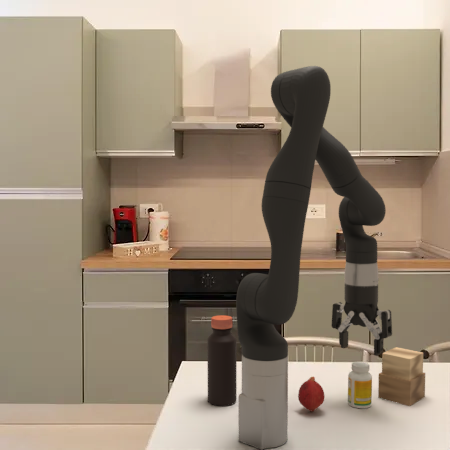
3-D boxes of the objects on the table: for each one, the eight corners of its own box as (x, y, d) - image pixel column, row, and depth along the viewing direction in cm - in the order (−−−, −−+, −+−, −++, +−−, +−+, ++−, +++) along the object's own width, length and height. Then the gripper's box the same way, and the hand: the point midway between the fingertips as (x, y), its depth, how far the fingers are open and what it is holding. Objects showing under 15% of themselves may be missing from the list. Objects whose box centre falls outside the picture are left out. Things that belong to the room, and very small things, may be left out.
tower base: (410, 406, 135) (410, 381, 134) (378, 398, 140) (378, 373, 140) (424, 397, 141) (425, 372, 140) (393, 389, 146) (394, 365, 146)
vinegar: (235, 407, 134) (235, 321, 133) (206, 406, 135) (206, 320, 133) (237, 396, 141) (237, 314, 140) (209, 395, 142) (208, 314, 140)
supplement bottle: (342, 403, 136) (343, 363, 135) (357, 398, 140) (358, 359, 139) (361, 410, 132) (362, 369, 131) (376, 405, 135) (377, 364, 135)
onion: (304, 417, 128) (304, 382, 128) (294, 408, 134) (294, 373, 133) (328, 414, 130) (328, 379, 129) (317, 405, 135) (318, 371, 135)
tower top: (409, 380, 135) (410, 359, 135) (381, 373, 140) (382, 353, 139) (422, 373, 140) (423, 352, 140) (395, 366, 145) (396, 347, 144)
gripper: (325, 280, 136) (325, 348, 137) (382, 287, 126) (381, 361, 127) (342, 276, 141) (342, 342, 143) (398, 282, 132) (397, 353, 133)
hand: (360, 351), depth 135 cm, fingers open, 8 cm apart
